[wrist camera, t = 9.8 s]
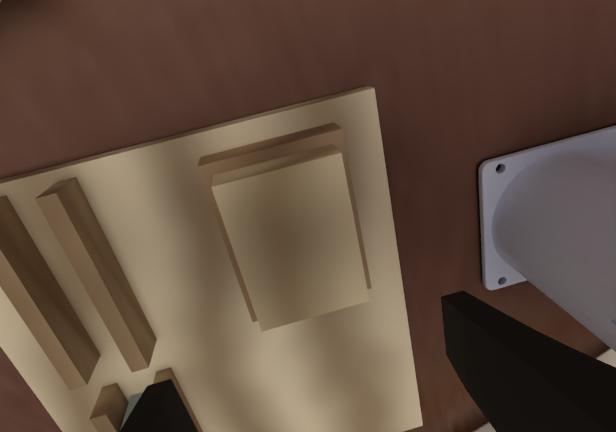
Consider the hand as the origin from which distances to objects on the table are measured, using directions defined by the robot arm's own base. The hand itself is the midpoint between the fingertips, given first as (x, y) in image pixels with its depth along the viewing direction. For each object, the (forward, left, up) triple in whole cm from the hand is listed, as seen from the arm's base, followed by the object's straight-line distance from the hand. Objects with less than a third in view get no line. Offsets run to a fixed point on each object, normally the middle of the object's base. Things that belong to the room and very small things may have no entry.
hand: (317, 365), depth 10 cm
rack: (+5, +6, -10) cm, 13 cm away
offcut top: (0, 0, -8) cm, 8 cm away
